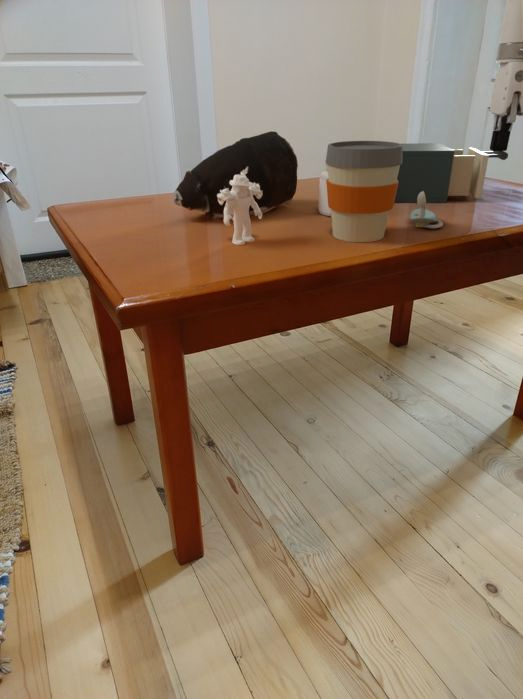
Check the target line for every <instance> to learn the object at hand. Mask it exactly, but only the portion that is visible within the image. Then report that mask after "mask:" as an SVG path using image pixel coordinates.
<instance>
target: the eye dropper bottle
mask: <svg viewBox="0 0 523 699" xmlns="http://www.w3.org/2000/svg"><path fill="white" fill-rule="evenodd" d="M327 179H329V178H328V165H327V164H326V158H325V159H324V171H322V172H321V173H320V175H319V182H318V204H317V206H318V208H317V210H318V213H319V214H320V215H322V216H326V217H331V209H330V208H329V207H328V196H327V184H326V180H327Z"/></svg>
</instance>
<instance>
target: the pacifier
mask: <svg viewBox="0 0 523 699" xmlns="http://www.w3.org/2000/svg"><path fill="white" fill-rule="evenodd" d="M416 204H417V206H418V207H419V208H416V209H414V210H412V211H411V213H410V214H409V215H410V216H409V217H410V222H411V223H415V227H417V228H425V229H432V230H433V229H434V230H435V229H440V228H442V227H443V226H444V222H443V221H442V220H441V219H438V217H437V215H436V214H435V213H434V212H432V211H431V210H429V209H427V203H426V198H425V193H424V191H422V192H420V193H419V195H418V198H417V203H416ZM431 223H435V224H431Z"/></svg>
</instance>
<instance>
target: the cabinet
mask: <svg viewBox="0 0 523 699" xmlns="http://www.w3.org/2000/svg"><path fill="white" fill-rule="evenodd" d="M401 144H402V164H401V165H400V167H399V172H398V176H397V180H398V181H399V183H398V187H397V192H396V196H395V200H394V204H395V203H396V204H397V203H398V204H399V203H400V204H401V203H404V204H405V203H406V204H407V203H408V204H409V203H410V204H411V203H412V204H418V203H417V198H418V195H419V193H420V192H422V191H424V193H425V198H426V204H447V203H448V197H449V196H448V190H449V184H450V177H451V171H452V164H453V158H454V150H452V149H453V148H450V147H448V146H446V145H445V144H443V143H440V142H437V143H435V142H433V143H431V142H430V143H426V142H425V143H424V142H423V143H422V142H421V143H420V142H419V143H401Z"/></svg>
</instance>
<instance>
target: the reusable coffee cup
mask: <svg viewBox="0 0 523 699" xmlns="http://www.w3.org/2000/svg"><path fill="white" fill-rule="evenodd" d="M402 144H403V143H400V142H394V141H385V140H383V141H382V140H344V141H336V142H330V143H328V144H327V149H326V156H325V159H326V164H327V165H328V178H329V179H327V180H326V184H327V196H328V207H329V208H330V209H331V216H330V217H331V229H332V230H331V231H332V237H334V238H335V239H337V240H339V241H343V242H350V243H371V242H373V243H374V242H377V241H380V240H382V239H384V237H385V234H386V230H387V229H386V228H387V224H388V220H389V216H390V211H391V210H393V208H394V206H395V203H394V200H395V196H396V192H397V187H398V183H399V181H398V180H397V176H398V172H399V167H400V165H401V164H402Z"/></svg>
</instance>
